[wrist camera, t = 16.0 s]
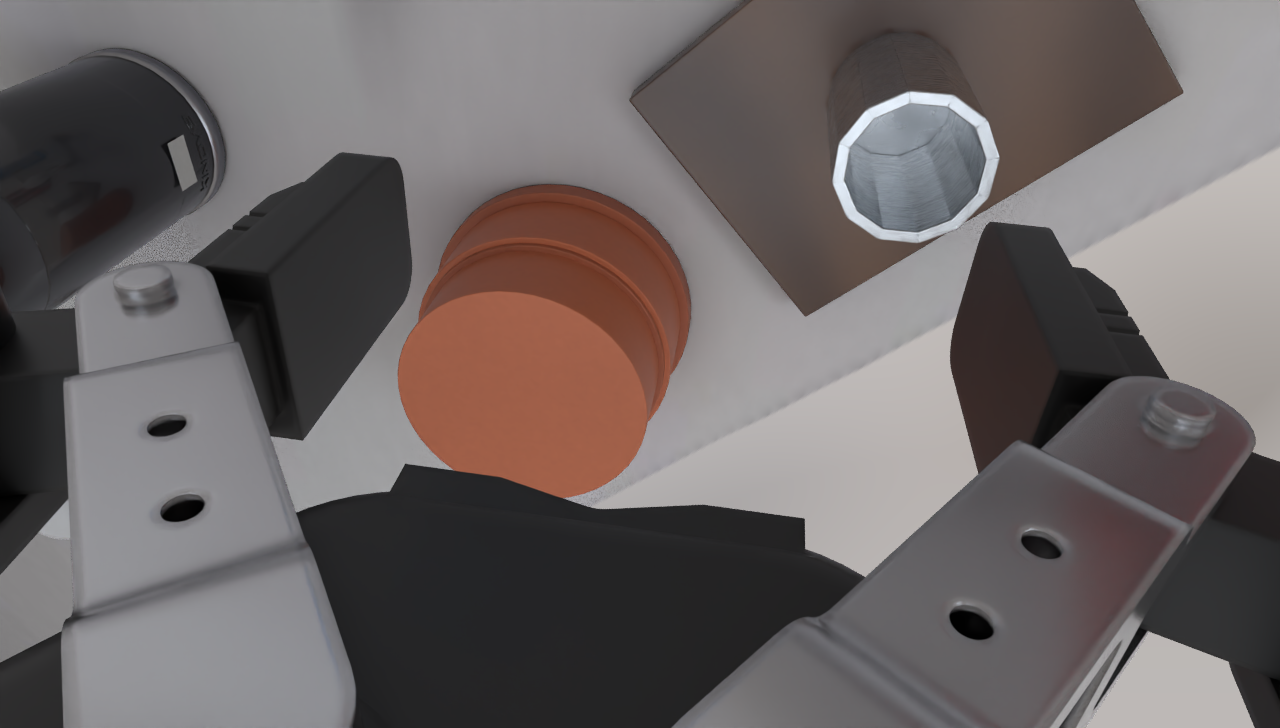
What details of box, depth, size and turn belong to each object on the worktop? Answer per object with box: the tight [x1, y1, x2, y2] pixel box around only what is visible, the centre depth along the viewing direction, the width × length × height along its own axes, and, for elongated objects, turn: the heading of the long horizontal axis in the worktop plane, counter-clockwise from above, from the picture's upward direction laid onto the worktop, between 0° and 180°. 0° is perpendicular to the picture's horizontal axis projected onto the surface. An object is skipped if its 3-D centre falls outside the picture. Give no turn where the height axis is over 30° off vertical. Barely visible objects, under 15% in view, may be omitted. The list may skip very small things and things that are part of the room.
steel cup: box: [827, 32, 1000, 243], centre depth 38 cm, size 6×6×9 cm
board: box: [629, 0, 1183, 316], centre depth 42 cm, size 20×15×2 cm
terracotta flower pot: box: [398, 184, 691, 498], centre depth 48 cm, size 15×15×10 cm
